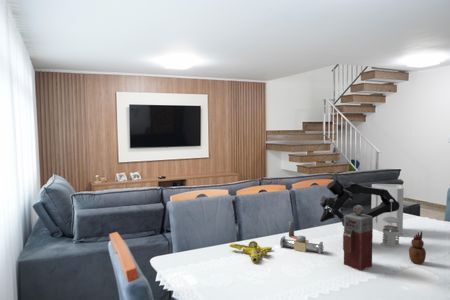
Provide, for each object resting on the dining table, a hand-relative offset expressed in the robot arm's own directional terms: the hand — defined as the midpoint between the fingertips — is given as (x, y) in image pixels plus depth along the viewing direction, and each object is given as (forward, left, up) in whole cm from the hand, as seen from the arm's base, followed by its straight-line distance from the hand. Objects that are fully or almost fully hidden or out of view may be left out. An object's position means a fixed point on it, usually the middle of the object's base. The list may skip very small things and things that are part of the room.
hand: (320, 221), depth 182 cm
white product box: (-29, -48, -13) cm, 57 cm away
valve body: (+6, +14, -13) cm, 19 cm away
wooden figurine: (-46, +1, -13) cm, 48 cm away
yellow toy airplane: (+24, +35, -13) cm, 44 cm away
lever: (+9, +12, -8) cm, 17 cm away
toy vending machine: (-23, +20, -13) cm, 33 cm away
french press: (-32, -20, -13) cm, 40 cm away
